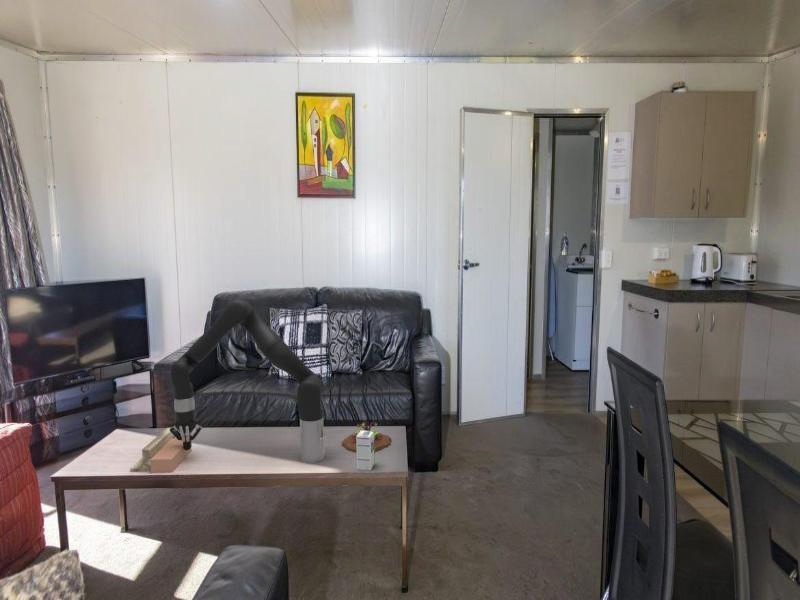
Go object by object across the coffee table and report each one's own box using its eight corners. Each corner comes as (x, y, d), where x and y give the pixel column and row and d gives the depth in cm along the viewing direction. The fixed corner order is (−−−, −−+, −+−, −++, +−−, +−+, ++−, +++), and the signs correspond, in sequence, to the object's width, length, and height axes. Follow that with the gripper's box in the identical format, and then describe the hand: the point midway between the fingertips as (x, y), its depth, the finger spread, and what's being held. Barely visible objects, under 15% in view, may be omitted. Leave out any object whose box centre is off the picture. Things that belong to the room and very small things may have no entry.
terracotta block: (191, 451, 214) (190, 438, 213) (172, 474, 194) (171, 459, 193) (172, 452, 214) (171, 438, 213) (151, 474, 194) (150, 459, 193)
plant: (333, 449, 217) (333, 423, 215) (360, 433, 234) (360, 410, 232) (372, 459, 207) (372, 433, 205) (397, 442, 223) (397, 418, 222)
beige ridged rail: (175, 448, 217) (174, 427, 216) (151, 472, 195) (149, 449, 194) (156, 448, 217) (155, 427, 216) (130, 472, 195) (128, 449, 194)
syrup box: (371, 473, 194) (371, 436, 192) (356, 471, 195) (356, 435, 194) (375, 466, 200) (374, 431, 198) (360, 465, 201) (360, 429, 199)
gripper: (204, 404, 207) (207, 445, 209) (172, 405, 207) (175, 446, 209) (198, 411, 200) (200, 453, 202) (164, 411, 199) (167, 453, 202)
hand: (187, 449), depth 205 cm, fingers closed
